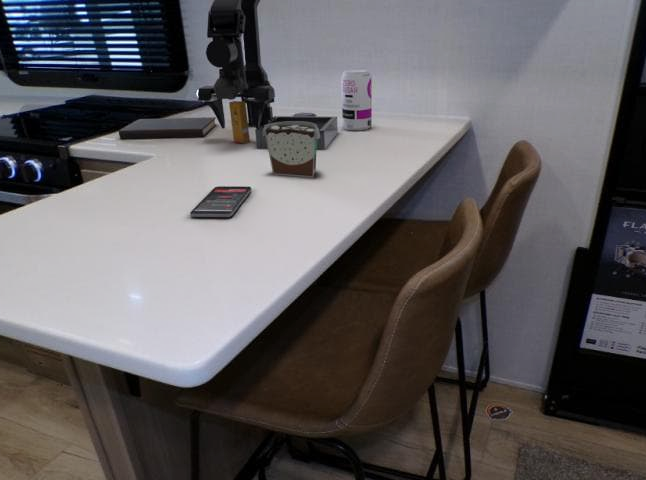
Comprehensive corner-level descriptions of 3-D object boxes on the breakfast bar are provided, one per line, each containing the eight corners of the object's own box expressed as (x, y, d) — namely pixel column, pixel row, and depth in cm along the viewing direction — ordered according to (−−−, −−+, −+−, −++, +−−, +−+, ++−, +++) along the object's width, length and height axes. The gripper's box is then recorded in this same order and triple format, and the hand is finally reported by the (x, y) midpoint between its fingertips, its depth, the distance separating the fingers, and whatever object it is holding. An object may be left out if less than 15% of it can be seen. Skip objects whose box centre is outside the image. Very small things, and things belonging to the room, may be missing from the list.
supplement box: (251, 140, 138) (246, 100, 133) (243, 143, 136) (238, 102, 131) (240, 139, 140) (235, 100, 135) (233, 142, 137) (227, 102, 132)
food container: (330, 170, 113) (328, 122, 108) (320, 178, 108) (317, 128, 103) (279, 166, 117) (275, 119, 112) (266, 173, 112) (261, 125, 107)
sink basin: (257, 148, 131) (254, 129, 129) (276, 132, 146) (274, 116, 144) (324, 149, 128) (324, 130, 126) (337, 133, 143) (337, 116, 141)
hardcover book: (140, 127, 157) (138, 119, 156) (216, 125, 157) (215, 117, 156) (120, 139, 143) (117, 130, 142) (203, 137, 143) (202, 128, 142)
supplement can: (372, 124, 152) (372, 68, 145) (370, 131, 145) (370, 72, 137) (344, 124, 153) (343, 69, 145) (341, 131, 146) (339, 72, 138)
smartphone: (252, 186, 101) (230, 214, 88) (252, 190, 102) (231, 218, 89) (215, 186, 102) (188, 213, 89) (216, 189, 102) (189, 217, 89)
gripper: (182, 67, 123) (193, 135, 131) (258, 66, 120) (265, 136, 128) (201, 62, 132) (211, 125, 140) (272, 61, 129) (278, 126, 137)
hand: (240, 128), depth 136 cm, fingers open, 9 cm apart
